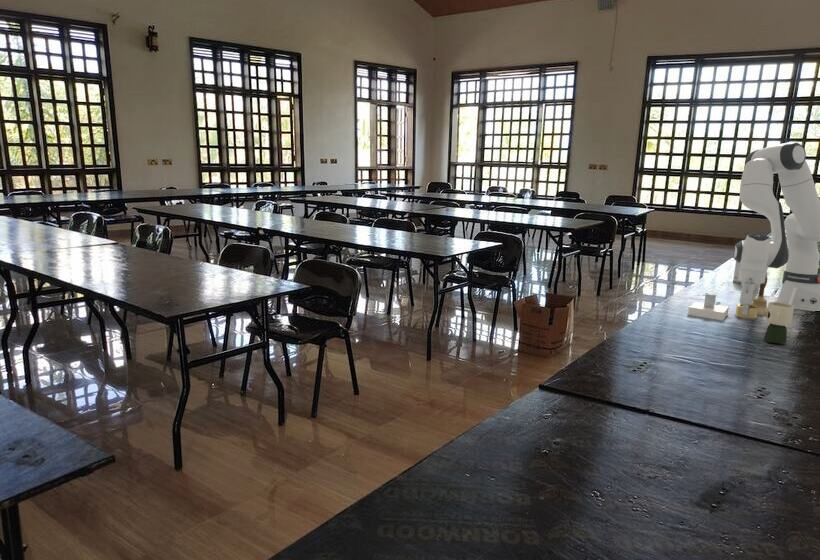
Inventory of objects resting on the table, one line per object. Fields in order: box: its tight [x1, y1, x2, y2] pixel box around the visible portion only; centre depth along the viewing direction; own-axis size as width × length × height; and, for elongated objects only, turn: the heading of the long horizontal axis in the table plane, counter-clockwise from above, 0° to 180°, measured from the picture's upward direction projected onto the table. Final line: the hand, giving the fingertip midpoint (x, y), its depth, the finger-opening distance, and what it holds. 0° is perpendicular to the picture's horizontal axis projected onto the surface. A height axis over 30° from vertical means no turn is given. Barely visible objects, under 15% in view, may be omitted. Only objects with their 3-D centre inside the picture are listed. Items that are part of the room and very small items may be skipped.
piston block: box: [687, 292, 730, 322], centre depth 222 cm, size 12×12×8 cm
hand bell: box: [752, 274, 768, 316], centre depth 228 cm, size 8×8×16 cm
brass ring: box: [735, 303, 758, 320], centre depth 222 cm, size 7×7×4 cm
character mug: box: [763, 301, 795, 345], centre depth 188 cm, size 11×7×13 cm, turn 140°
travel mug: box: [732, 261, 742, 285], centre depth 285 cm, size 6×7×20 cm
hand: (746, 312), depth 222 cm, fingers closed on brass ring, 7 cm apart
